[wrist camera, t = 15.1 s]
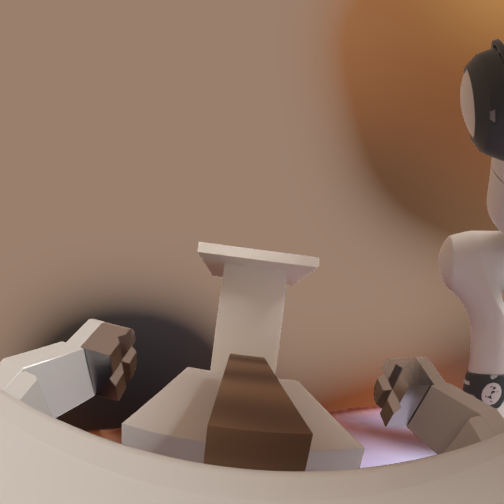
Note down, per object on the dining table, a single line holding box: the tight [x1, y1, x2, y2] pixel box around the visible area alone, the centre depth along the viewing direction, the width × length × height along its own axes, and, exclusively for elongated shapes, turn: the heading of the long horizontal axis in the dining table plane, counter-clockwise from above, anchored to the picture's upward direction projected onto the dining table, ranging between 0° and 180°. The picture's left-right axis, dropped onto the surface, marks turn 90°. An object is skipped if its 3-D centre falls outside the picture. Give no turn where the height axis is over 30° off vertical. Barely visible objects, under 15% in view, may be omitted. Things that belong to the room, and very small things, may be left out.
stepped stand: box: [122, 242, 365, 471], centre depth 26 cm, size 31×12×28 cm, turn 2°
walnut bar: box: [204, 354, 313, 471], centre depth 16 cm, size 18×3×3 cm, turn 2°
